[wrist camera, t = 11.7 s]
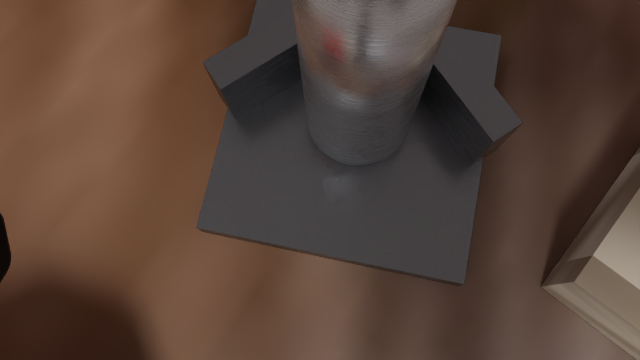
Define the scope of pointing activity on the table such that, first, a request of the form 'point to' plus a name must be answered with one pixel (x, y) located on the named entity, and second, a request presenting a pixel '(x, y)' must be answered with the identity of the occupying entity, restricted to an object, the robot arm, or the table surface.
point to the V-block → (353, 180)
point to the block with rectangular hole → (606, 264)
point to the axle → (365, 70)
